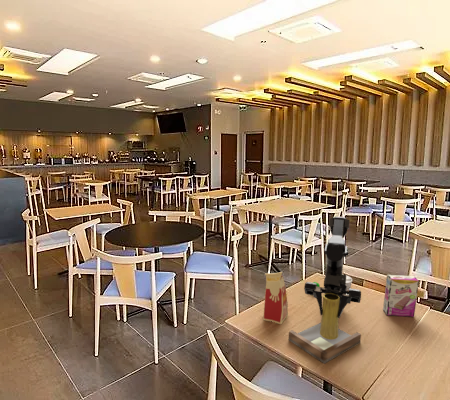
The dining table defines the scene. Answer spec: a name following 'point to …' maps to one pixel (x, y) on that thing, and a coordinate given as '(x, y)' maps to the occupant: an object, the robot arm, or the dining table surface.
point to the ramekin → (348, 282)
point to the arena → (323, 343)
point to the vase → (330, 316)
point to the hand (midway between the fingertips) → (329, 316)
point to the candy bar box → (400, 295)
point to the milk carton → (275, 298)
